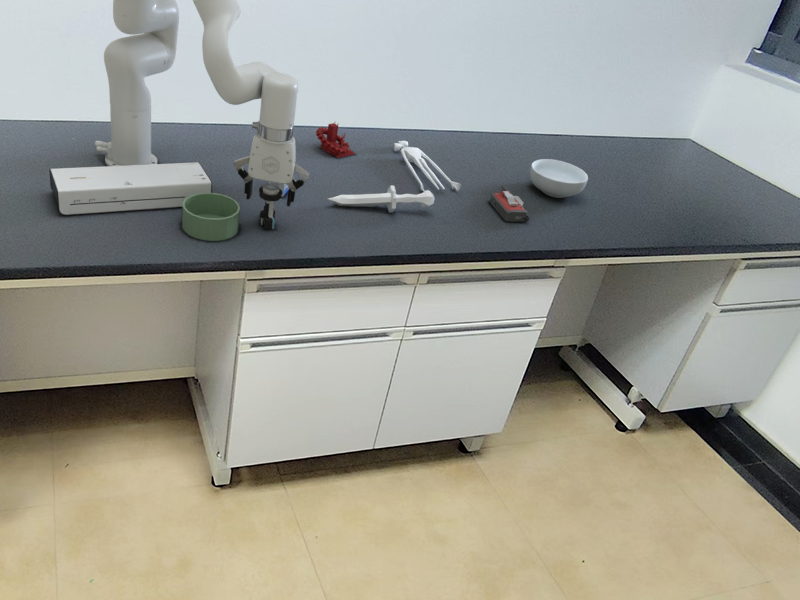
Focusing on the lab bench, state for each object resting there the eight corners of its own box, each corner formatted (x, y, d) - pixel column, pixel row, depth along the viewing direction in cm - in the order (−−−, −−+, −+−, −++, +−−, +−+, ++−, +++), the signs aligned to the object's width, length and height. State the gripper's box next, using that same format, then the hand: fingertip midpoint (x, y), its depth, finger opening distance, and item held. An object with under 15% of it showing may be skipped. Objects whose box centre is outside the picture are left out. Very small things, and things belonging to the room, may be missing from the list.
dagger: (327, 208, 192) (437, 204, 195) (325, 185, 193) (436, 181, 196) (326, 217, 199) (433, 213, 203) (325, 194, 200) (431, 190, 204)
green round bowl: (175, 235, 171) (175, 213, 168) (190, 209, 182) (190, 188, 179) (231, 244, 172) (233, 223, 169) (243, 219, 183) (244, 198, 180)
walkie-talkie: (534, 224, 209) (504, 190, 224) (539, 210, 206) (508, 176, 222) (506, 224, 206) (477, 189, 221) (510, 209, 203) (481, 175, 218)
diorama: (353, 161, 221) (357, 134, 217) (311, 154, 220) (315, 126, 216) (355, 147, 230) (360, 120, 226) (316, 140, 229) (319, 113, 225)
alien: (413, 146, 239) (417, 131, 236) (458, 201, 217) (463, 185, 214) (378, 146, 234) (382, 131, 231) (420, 202, 212) (425, 186, 209)
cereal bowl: (567, 181, 238) (574, 160, 234) (590, 206, 225) (597, 184, 221) (517, 177, 233) (523, 156, 230) (537, 203, 220) (544, 181, 216)
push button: (251, 217, 184) (254, 179, 179) (272, 216, 186) (276, 178, 181) (259, 231, 179) (263, 192, 174) (281, 229, 182) (285, 191, 176)
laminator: (58, 216, 169) (56, 191, 166) (50, 190, 177) (48, 166, 174) (211, 205, 185) (212, 182, 182) (196, 182, 194) (197, 159, 190)
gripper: (233, 130, 166) (228, 200, 176) (312, 144, 168) (303, 214, 177) (240, 117, 173) (235, 186, 182) (316, 132, 174) (308, 199, 183)
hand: (269, 200), depth 179 cm, fingers open, 9 cm apart
